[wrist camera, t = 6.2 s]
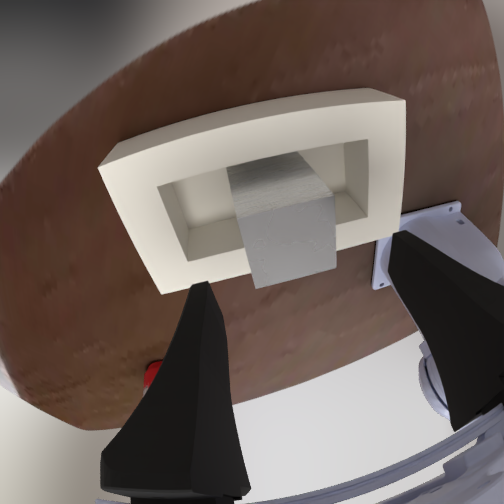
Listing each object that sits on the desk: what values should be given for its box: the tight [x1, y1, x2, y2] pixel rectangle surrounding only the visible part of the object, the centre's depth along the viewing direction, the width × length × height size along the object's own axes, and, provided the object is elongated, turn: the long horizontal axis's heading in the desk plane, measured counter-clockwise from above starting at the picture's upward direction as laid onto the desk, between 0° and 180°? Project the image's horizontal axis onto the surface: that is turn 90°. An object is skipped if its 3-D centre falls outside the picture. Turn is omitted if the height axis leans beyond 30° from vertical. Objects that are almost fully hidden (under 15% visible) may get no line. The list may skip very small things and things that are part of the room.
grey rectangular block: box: [226, 151, 336, 289], centre depth 15 cm, size 4×4×7 cm
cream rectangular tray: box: [98, 88, 406, 294], centre depth 17 cm, size 16×9×4 cm, turn 101°
